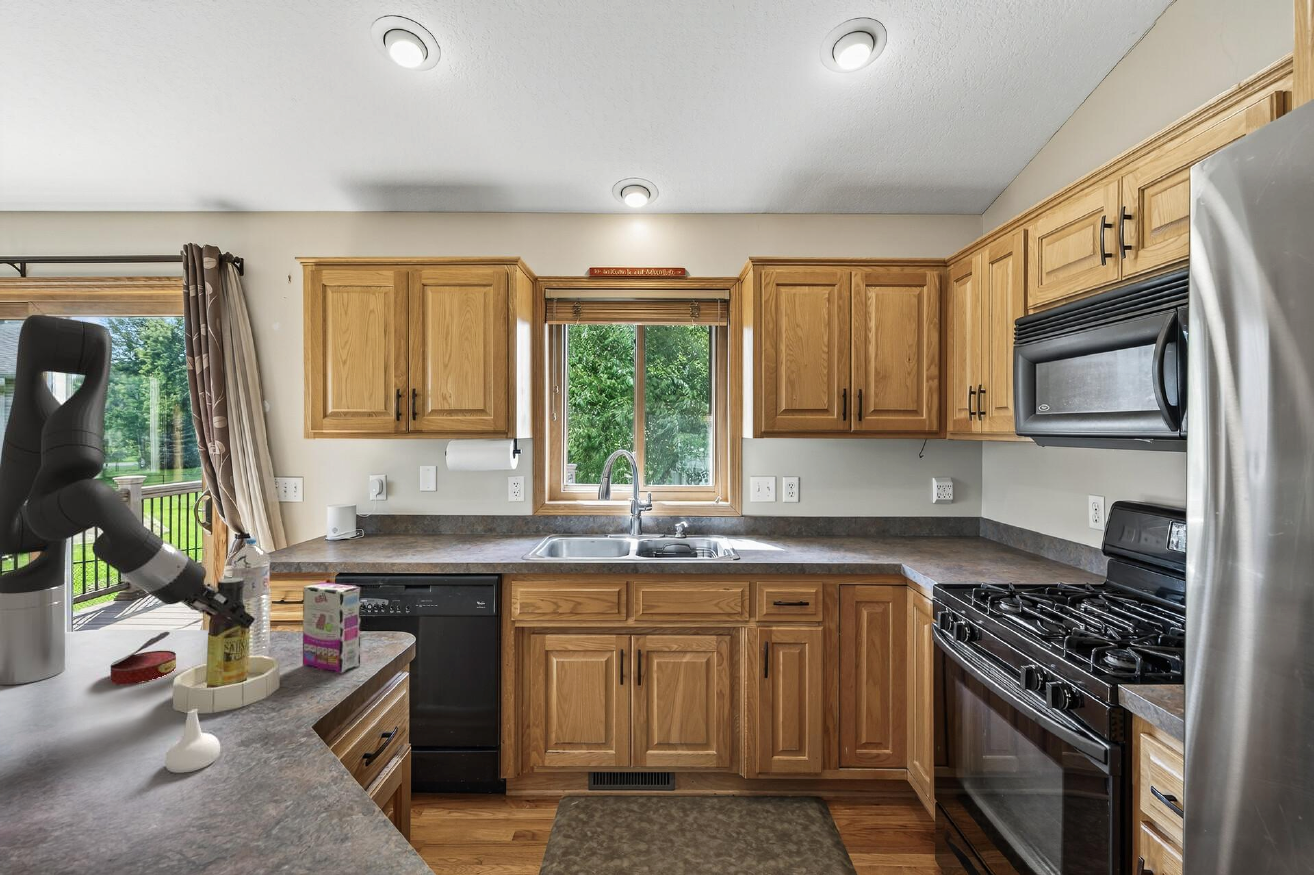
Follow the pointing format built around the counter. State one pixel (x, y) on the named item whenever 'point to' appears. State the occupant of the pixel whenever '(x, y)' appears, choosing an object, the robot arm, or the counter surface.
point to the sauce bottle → (227, 643)
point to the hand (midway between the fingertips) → (237, 621)
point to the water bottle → (255, 593)
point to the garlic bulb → (192, 748)
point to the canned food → (143, 664)
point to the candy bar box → (331, 627)
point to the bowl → (225, 687)
